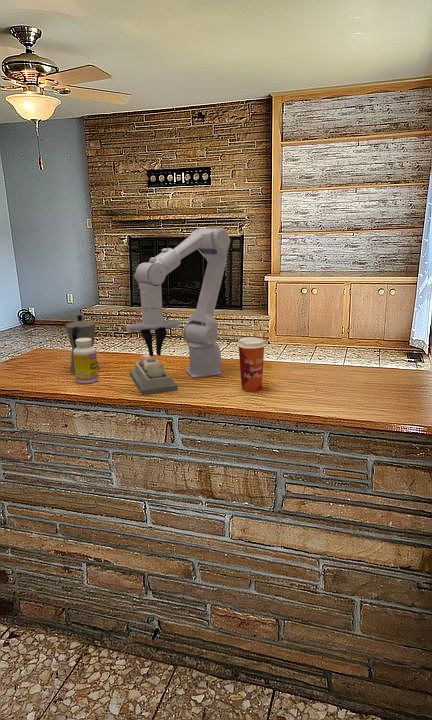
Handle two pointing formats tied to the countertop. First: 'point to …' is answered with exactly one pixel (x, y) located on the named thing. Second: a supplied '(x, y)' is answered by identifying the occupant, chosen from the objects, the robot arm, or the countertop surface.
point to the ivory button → (149, 363)
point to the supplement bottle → (85, 361)
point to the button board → (151, 381)
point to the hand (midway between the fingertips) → (154, 355)
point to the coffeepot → (80, 334)
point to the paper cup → (251, 363)
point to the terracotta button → (145, 358)
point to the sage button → (155, 371)
